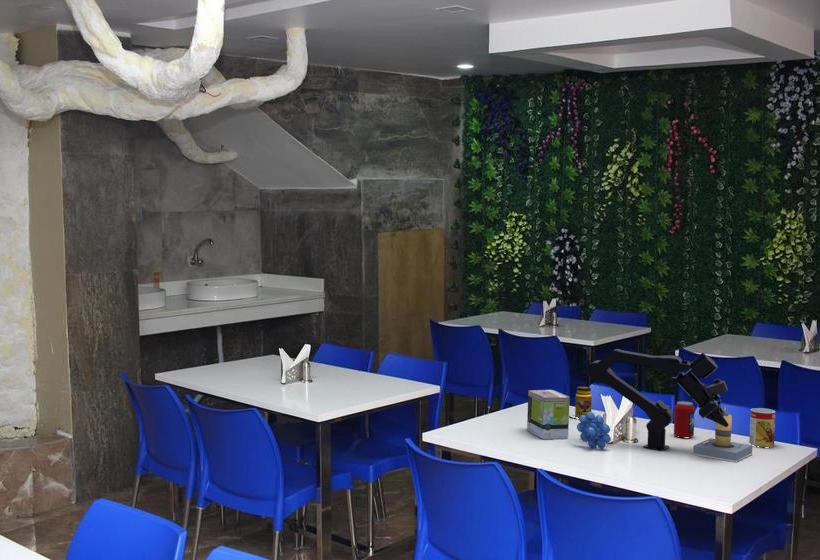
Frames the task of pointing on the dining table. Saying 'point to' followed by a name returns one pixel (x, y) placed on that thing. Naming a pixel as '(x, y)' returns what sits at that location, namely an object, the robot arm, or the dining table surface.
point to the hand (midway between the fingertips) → (728, 424)
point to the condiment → (583, 401)
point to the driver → (723, 430)
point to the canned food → (762, 427)
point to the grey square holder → (722, 450)
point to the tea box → (548, 414)
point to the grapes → (594, 430)
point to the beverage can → (684, 419)
